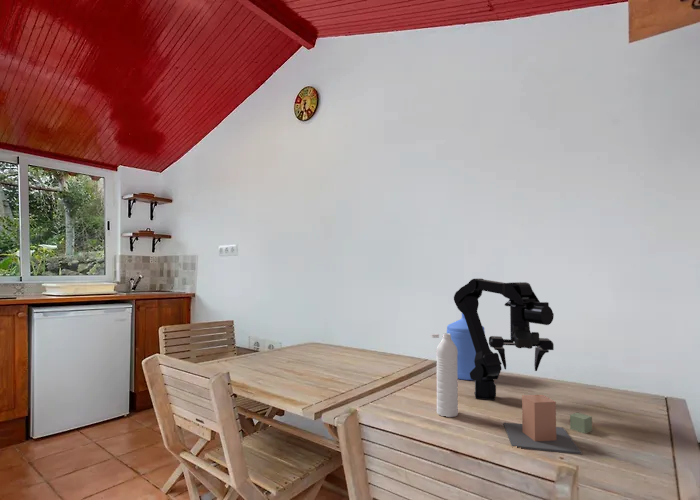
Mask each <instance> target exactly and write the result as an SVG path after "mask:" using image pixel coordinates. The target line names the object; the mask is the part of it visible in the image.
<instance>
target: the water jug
mask: <svg viewBox="0 0 700 500" xmlns="http://www.w3.org/2000/svg"><path fill="white" fill-rule="evenodd" d="M482 327H483V330H484V333H485V334H486V331H485V327H484V326H483V325H482ZM446 333H448V334H451V339H452V341H453V342H454V344H455V346H456V347H457V351H458V355H457V366H458V367H457V369H458V370H457V371H458V372H457V374H458V380H462V381H464V380H465V381H474V380H473V379H471V377H470V372H471V371H472V370H473V369H474V368H475V362H474V360H475V355H476V351H475V348H474V345H473V342H472V338H471V335H470V332H469V329H468V326H467V323H466V320H465V317H464V314H463V313H462V312H461V318H460V319H458V320H456V321H453V322H451V323H449V324H447V326H446Z"/></svg>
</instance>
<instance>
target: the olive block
mask: <svg viewBox="0 0 700 500" xmlns="http://www.w3.org/2000/svg"><path fill="white" fill-rule="evenodd" d="M569 422H570V423H569V425H570V427H569V429H570V430H573V431H576V432H578V433H581V434H585V435H586V434H587V433H590V432H592V431H593V416H591V415H588V414H585V413H582V412H575V413H571V414H569Z"/></svg>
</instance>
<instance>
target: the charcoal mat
mask: <svg viewBox="0 0 700 500" xmlns="http://www.w3.org/2000/svg"><path fill="white" fill-rule="evenodd" d="M503 426H504V429H505V431H506V434H507V436H508V440H509V443H510V445H511V447H512V446H517V447H521V448H520V449H523V448H526V449H525V450H532V451H533V450H535V451H545V452H555V453H565V454H574V455H582V451H581V450H580V448H579V447H578V445H577V444H576V443H575V441H574V440H573V439H572V438H571V436H570V435H569V434H568V433H567V431H566V429H565V428H564V427H560V426H556V440H551V441H534V440H533V439H531V438H530V437H529V436H527V435H526V434H524V433H523V427H522V423H515V422H506V421H505V422H504V421H503Z"/></svg>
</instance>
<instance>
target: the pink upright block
mask: <svg viewBox="0 0 700 500" xmlns="http://www.w3.org/2000/svg"><path fill="white" fill-rule="evenodd" d="M521 401H522V402H521V406H522V407H521V410H522V411H521V413H522V417H521V418H522V423H521V424H522V427H523V433H524V434H526V435H527V436H529V437H530V438H531V439H533V440H534V441H551V440H556V427H557V405H556V404H557V402H556V401H555V400H553V399H551V398H550V397H548V396H545V395H544V394H526V395H521Z"/></svg>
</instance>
